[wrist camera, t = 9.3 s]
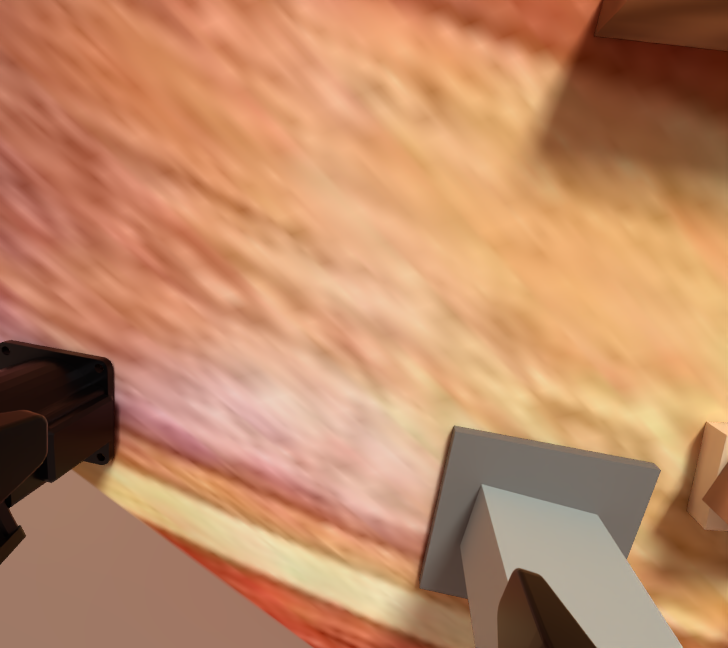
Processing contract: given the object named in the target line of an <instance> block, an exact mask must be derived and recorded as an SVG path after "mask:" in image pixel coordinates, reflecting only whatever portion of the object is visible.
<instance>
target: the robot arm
mask: <svg viewBox="0 0 728 648" xmlns="http://www.w3.org/2000/svg"><path fill="white" fill-rule="evenodd" d="M100 365H102V367H103V369H102V368H101V367H100ZM102 454H103V455H104V456H105V457H104V456H103V455H102ZM113 457H114V401H113V366H112V363H111V361H110V360H108V359H107V358H104V357H99V356H94V355H88V354H83V353H78V352H72V351H67V350H62V349H56V348H51V347H46V346H40V345H35V344H29V343H24V342H19V341H13V340H8V341H5V342H2V343H0V564H1V563H2V562H3V561H4V560H5V559H6V558H7V557H8V556H9V554H10V553H11V552H12V551H13V550H14V549H15V548H16V547H17V546H18V544H19V543H20V542H21V541H22V540H23V539H24V538H25V537H26V535H25V533H24V531H23V529H22V527H21V526H20V525H19V526H18V525H17V523H16V521H15V520H14V518H13V516H12V514H11V512H10V510H9V508H10V507H12V506H13V505H14V504H16V503H17V502H18V501H20V500H21V499H23V498H24V497H26V496H27V495H29V494H30V493H31V492H33V491H34V490H35V489H37V488H38V487H40V486H41V485H43V484H44V483H46V482H50V483H52V482H54V481H55V480H57V479H58V478H60V477H61V476H62V475H64V474H65V473H67V472H68V471H69V470H71V469H72V468H74V467H75V466H76V465H78V464H79V463H81V462H82V461H85V462H90V463H95V464H100V465H105V464H107V463H108V462H110V461H111V460H112V459H113ZM497 634H498V648H597V647H596V646H595V644H594V643H593V642H592V641H591V639H590V638H589V637H588V635H587V634H586V633H585V631H584V630H583V629H582V627H581V626H580V625H579V624H578V622H577V621H576V620H575V618H574V617H573V616H572V614H571V613H570V612H569V610H568V609H567V608H566V607H565V605H564V604H563V603H562V601H561V600H560V599H559V597H558V596H557V595H556V593H555V592H554V591H553V590H552V588H551V587H550V586H549V584H548V583H547V582H546V580H545V579H544V578H543V577H542V576H541V575H539V574H537V573H534V572H531V571H528V570H525V569H522V568H516V569H514V571H513V572H512V574H511V576H510V578H509V581H508V583H507V585H506V588H505V590H504V592H503V595H502V597H501V599H500V602H499V605H498V611H497Z"/></svg>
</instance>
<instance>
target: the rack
mask: <svg viewBox="0 0 728 648" xmlns="http://www.w3.org/2000/svg"><path fill="white" fill-rule="evenodd" d="M594 36H599V37H608V38H617V39H626V40H635V41H643V42H652V43H661V44H670V45H679V46H687V47H696V48H705V49H714V50H723V51H728V0H603V3H602V7H601V11H600V15H599V19H598V23H597V27H596V30H595V34H594Z"/></svg>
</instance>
